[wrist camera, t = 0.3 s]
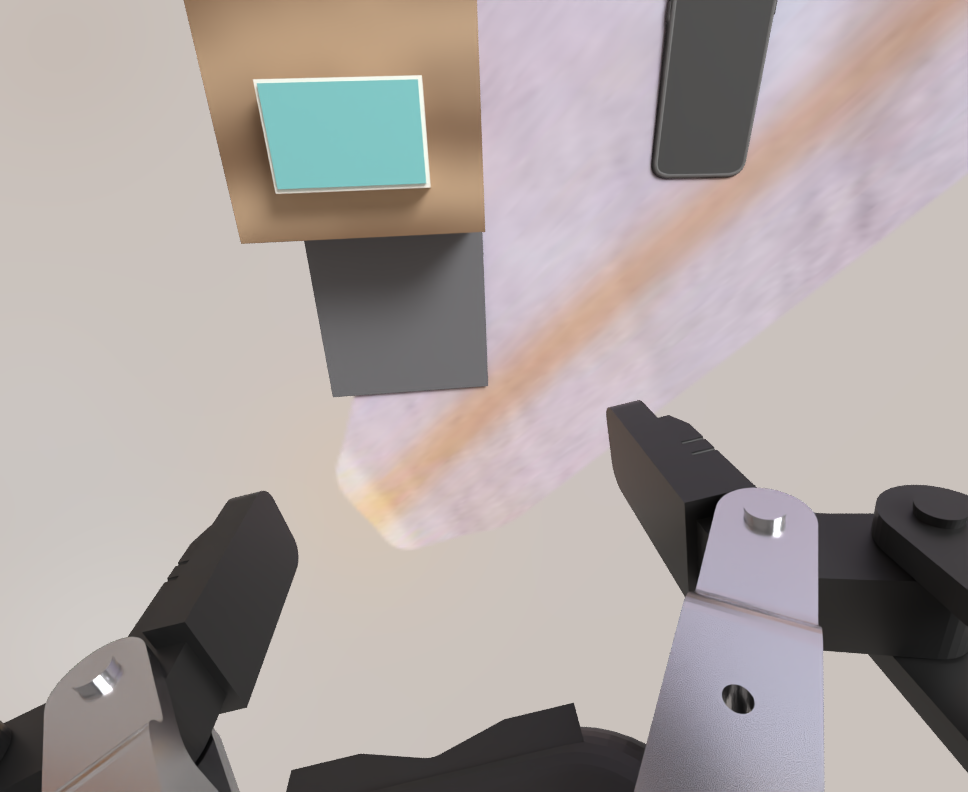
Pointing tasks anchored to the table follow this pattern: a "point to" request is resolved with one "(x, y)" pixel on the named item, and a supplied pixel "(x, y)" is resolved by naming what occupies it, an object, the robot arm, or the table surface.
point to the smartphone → (709, 86)
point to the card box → (344, 133)
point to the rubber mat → (401, 312)
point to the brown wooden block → (345, 53)
